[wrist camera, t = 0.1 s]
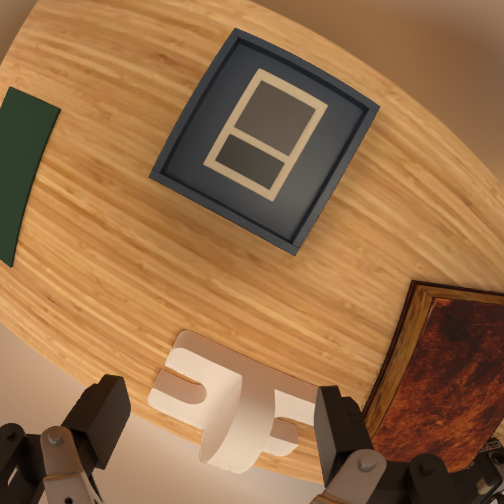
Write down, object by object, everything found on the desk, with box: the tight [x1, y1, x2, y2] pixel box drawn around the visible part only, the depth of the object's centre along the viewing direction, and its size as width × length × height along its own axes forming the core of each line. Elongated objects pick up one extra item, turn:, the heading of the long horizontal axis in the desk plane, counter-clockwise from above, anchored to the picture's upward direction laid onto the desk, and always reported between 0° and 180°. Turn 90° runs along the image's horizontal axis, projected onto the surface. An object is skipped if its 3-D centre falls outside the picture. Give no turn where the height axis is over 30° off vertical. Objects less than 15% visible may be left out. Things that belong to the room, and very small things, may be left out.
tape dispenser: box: [148, 330, 318, 474], centre depth 29 cm, size 10×18×11 cm, turn 62°
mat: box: [0, 87, 61, 268], centre depth 28 cm, size 20×10×1 cm, turn 151°
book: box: [361, 280, 504, 474], centre depth 32 cm, size 30×24×5 cm
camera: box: [449, 439, 504, 504], centre depth 32 cm, size 11×14×15 cm
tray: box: [149, 28, 380, 256], centre depth 26 cm, size 16×15×2 cm
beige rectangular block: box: [204, 68, 328, 202], centre depth 25 cm, size 9×6×4 cm
